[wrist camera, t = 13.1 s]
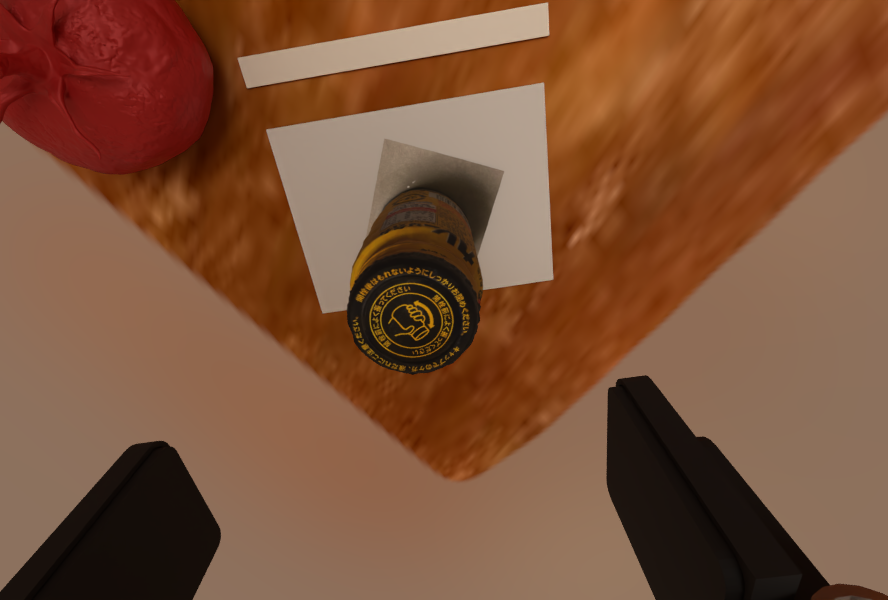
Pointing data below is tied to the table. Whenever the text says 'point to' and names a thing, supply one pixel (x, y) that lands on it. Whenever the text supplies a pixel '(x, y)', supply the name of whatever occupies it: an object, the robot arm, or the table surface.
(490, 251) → the mat
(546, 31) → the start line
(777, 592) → the robot arm
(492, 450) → the table surface
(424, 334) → the condiment
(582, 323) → the table surface
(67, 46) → the pomegranate
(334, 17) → the table surface
